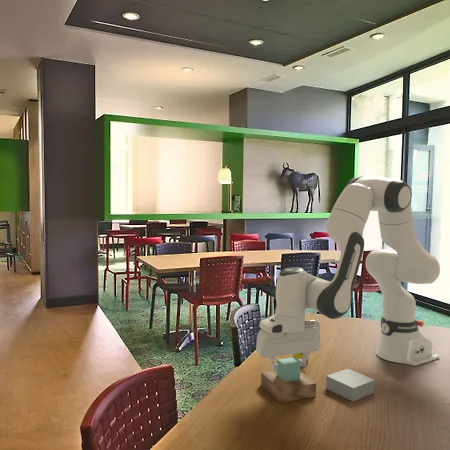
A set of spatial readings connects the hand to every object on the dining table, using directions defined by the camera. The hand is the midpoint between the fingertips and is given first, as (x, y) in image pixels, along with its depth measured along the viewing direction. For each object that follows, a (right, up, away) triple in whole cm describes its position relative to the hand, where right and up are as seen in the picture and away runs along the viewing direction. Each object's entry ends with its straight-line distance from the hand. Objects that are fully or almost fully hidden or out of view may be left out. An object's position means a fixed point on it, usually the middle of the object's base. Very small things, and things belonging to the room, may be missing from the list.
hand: (288, 367), depth 131 cm
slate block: (+19, -7, +1) cm, 20 cm away
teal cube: (0, -3, 0) cm, 3 cm away
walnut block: (0, -7, +1) cm, 7 cm away
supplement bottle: (+8, -6, +23) cm, 25 cm away
